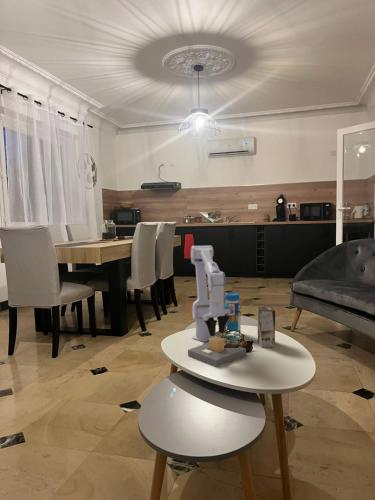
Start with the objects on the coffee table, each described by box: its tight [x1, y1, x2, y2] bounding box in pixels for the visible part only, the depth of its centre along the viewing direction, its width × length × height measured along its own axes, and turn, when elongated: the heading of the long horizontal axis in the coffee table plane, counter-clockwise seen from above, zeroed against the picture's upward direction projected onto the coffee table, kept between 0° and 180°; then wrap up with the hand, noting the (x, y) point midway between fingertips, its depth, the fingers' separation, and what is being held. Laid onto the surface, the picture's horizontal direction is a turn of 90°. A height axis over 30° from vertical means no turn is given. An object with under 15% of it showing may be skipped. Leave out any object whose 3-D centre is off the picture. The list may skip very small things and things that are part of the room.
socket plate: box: [187, 342, 247, 368], centre depth 149 cm, size 18×16×3 cm
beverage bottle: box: [224, 292, 242, 334], centre depth 176 cm, size 8×8×20 cm
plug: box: [208, 335, 225, 353], centre depth 149 cm, size 4×5×7 cm
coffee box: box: [257, 306, 276, 348], centre depth 161 cm, size 9×6×16 cm
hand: (216, 334), depth 148 cm, fingers open, 5 cm apart
